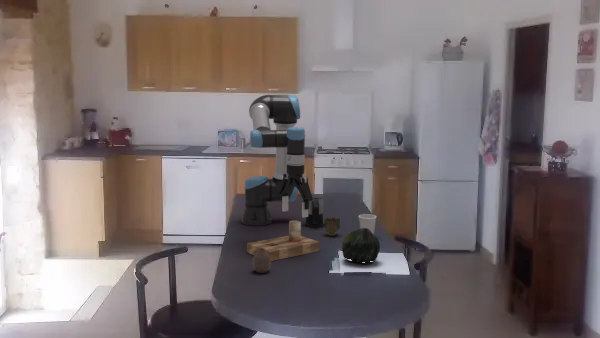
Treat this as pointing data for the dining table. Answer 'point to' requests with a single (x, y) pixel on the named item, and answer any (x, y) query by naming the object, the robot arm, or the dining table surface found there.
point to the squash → (361, 246)
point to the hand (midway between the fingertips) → (295, 214)
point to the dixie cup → (367, 221)
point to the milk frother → (315, 212)
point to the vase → (261, 261)
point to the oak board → (284, 247)
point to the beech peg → (294, 231)
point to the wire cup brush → (332, 225)
